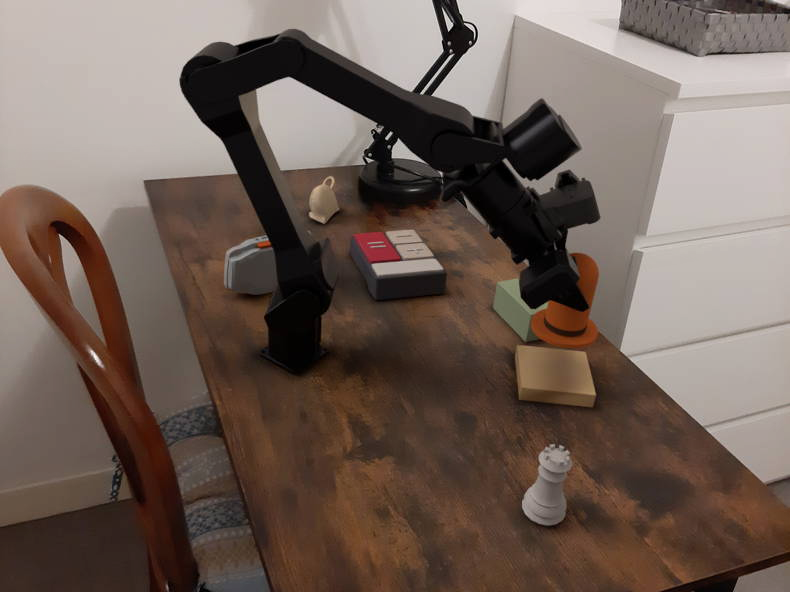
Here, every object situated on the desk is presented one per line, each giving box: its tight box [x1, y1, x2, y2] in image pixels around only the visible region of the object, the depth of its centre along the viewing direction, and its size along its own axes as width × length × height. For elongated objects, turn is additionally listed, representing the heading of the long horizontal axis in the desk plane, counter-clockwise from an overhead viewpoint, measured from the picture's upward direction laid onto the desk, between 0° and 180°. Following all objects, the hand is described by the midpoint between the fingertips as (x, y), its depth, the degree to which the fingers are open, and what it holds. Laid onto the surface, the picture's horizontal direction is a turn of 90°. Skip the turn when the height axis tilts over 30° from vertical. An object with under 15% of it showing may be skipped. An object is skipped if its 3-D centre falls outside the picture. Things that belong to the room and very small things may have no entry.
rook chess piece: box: [521, 443, 573, 527], centre depth 75 cm, size 4×4×8 cm
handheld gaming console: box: [223, 230, 315, 296], centre depth 108 cm, size 14×3×8 cm, turn 124°
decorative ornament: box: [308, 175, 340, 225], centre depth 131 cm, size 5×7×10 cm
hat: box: [531, 252, 600, 350], centre depth 89 cm, size 8×8×10 cm
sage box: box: [492, 277, 548, 343], centre depth 106 cm, size 5×9×4 cm, turn 24°
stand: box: [514, 344, 597, 408], centre depth 95 cm, size 9×9×2 cm
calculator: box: [349, 229, 448, 301], centre depth 116 cm, size 11×4×15 cm
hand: (583, 297), depth 89 cm, fingers closed on hat, 5 cm apart
